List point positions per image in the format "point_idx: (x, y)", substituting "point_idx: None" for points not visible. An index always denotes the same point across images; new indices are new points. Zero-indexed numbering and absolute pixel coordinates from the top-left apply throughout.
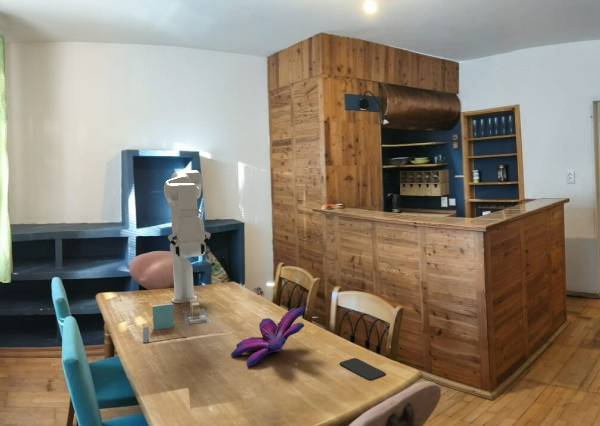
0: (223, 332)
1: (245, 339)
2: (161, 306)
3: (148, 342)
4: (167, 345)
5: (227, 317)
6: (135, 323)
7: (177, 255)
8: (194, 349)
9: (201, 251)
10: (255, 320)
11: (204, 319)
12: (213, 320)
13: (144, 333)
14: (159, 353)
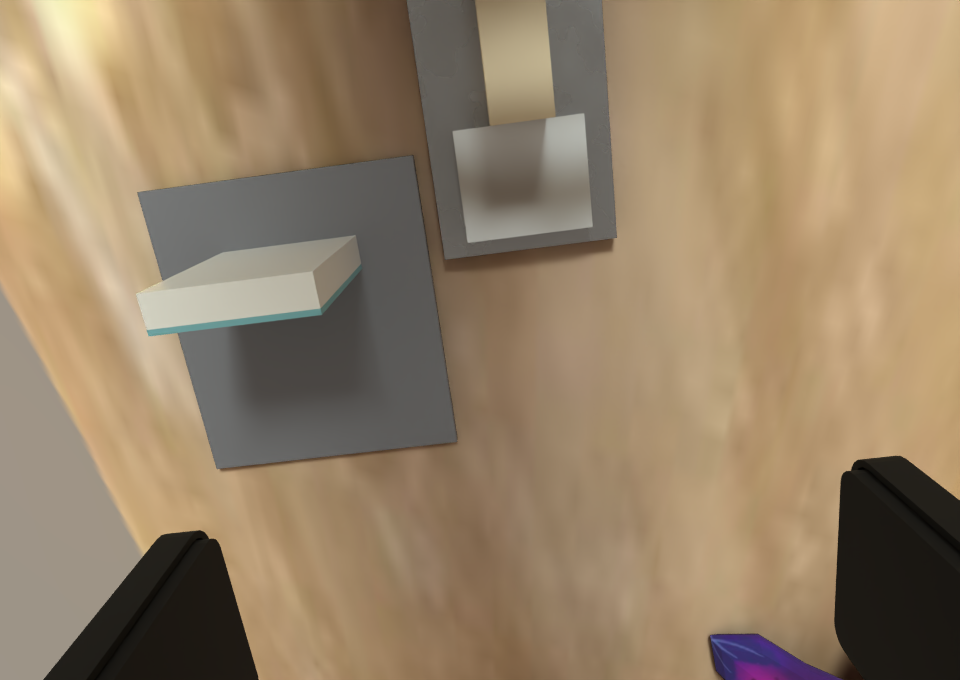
0: (676, 417)
1: (769, 660)
2: (226, 325)
3: (245, 463)
4: (360, 526)
5: (755, 98)
6: (34, 25)
7: (172, 536)
8: (504, 610)
9: (877, 653)
10: (934, 242)
11: (576, 228)
12: (640, 144)
13: None
14: (336, 613)
